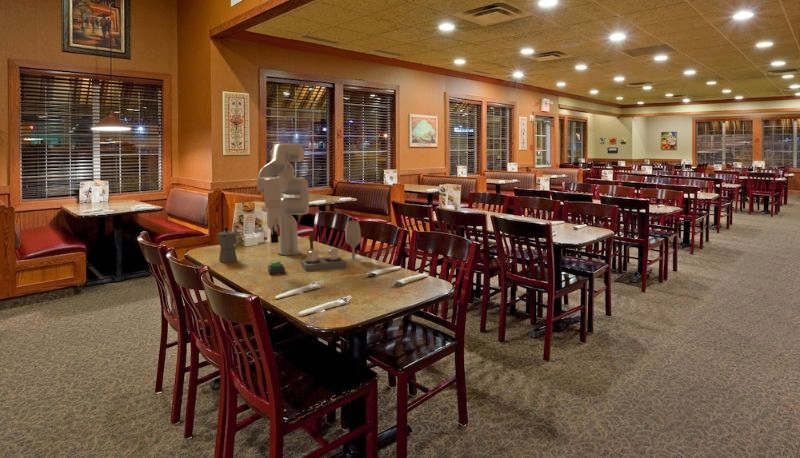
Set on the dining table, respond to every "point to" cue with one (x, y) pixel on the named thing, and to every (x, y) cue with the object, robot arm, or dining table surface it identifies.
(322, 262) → the tray
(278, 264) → the button
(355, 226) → the wineglass
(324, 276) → the dining table surface
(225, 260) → the coffeepot
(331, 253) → the billet
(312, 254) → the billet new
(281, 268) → the button housing
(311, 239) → the hand bell
